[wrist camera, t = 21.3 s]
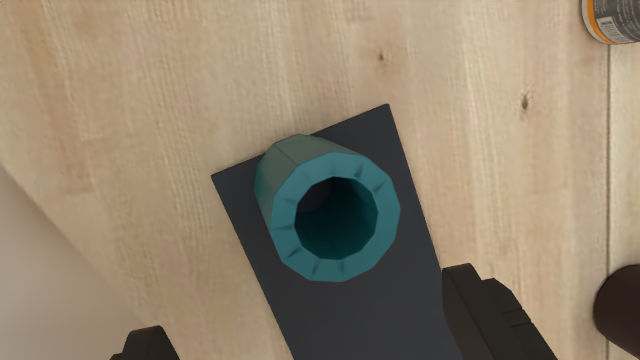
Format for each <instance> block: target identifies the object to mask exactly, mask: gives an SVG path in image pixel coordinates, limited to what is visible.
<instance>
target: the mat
mask: <svg viewBox="0 0 640 360" xmlns="http://www.w3.org/2000/svg"><path fill="white" fill-rule="evenodd" d="M308 136H314V137H321V138H324V139H326V140H329V141H331V142H333V143H336V144H338V145H340V146H343V147H345V148H348V149H350V150H352V151H355V152H357V153H359V154H362V155H364V156H366V157H368V158H369V159H370V160H371V161H372V162H373V163H375V164H376V165H377V166H378V167H379V168H381V169H382V170H383V171H384V172H385V173H387V174H388V175H389V176H390V178H391V180H392V183H393V186H394V189H395V192H396V195H397V198H398V201H399V204H400V209H401V211H400V216H399V221H398V226H397V231H396V236H395V240H394V241H393V243H392V245H391V246H390V247H389V248H388V250H387V251H386V252H385V253H384V255H383V256H382V257H381V258H380V260H379V261H378V262H377V263H376V265H375V266H374V267H373V268H372V269H369V270H367V271H365V272H363V273H361V274H359V275H357V276H354V277H352V278H350V279H348V280H346V281H342V282H332V281H313V280H308V279H307V278H305V277H304V276H302V275H301V274H299V273H298V272H296V271H295V270H293V269H292V268H290V267H289V266H287V265H286V264H284V263H283V262H282V261H281V258H280V256H279V254H278V251H277V249H276V247H275V244H274V242H273V240H272V237H271V235H270V233H269V230H268V228H267V225H266V222H265V220H264V217H263V215H262V212H261V209H260V207H259V204H258V202H257V199H256V196H255V194H254V181H255V174H256V167H257V164H258V163H259V161H260V160H261V159H262V158H263V156H264V155H265V154H266V153H264V154H262V155H259V156H257V157H255V158H252V159H250V160H247V161H245V162H242V163H240V164H237V165H235V166H233V167H230V168H228V169H225V170H223V171H220V172H218V173H215V174H213V175H211V178H212V180H213V183H214V185H215V187H216V189H217V191H218V194H219V196H220V198H221V200H222V202H223V205H224V207H225V209H226V211H227V213H228V215H229V218H230V220H231V222H232V224H233V226H234V229H235V231H236V233H237V235H238V237H239V240H240V242H241V244H242V246H243V248H244V250H245V253H246V255H247V257H248V259H249V261H250V264H251V266H252V268H253V270H254V272H255V275H256V277H257V279H258V281H259V283H260V285H261V288H262V290H263V292H264V294H265V296H266V299H267V301H268V303H269V305H270V307H271V310H272V312H273V314H274V316H275V318H276V320H277V323H278V325H279V327H280V329H281V331H282V334H283V336H284V338H285V340H286V342H287V345H288V347H289V349H290V351H291V353H292V355H293V358H294V360H463V358H462V355H461V353H460V351H459V349H458V347H457V345H456V342H455V340H454V338H453V336H452V334H451V331H450V329H449V327H448V324H447V322H446V318H445V315H444V310H443V295H442V272H441V269H440V266H439V263H438V259H437V256H436V253H435V250H434V247H433V244H432V240H431V237H430V234H429V231H428V228H427V224H426V221H425V218H424V215H423V212H422V208H421V205H420V202H419V199H418V196H417V192H416V189H415V186H414V183H413V180H412V177H411V173H410V170H409V167H408V164H407V161H406V157H405V154H404V151H403V148H402V145H401V141H400V138H399V135H398V132H397V129H396V125H395V122H394V119H393V116H392V113H391V109H390V106H389V104H384V105H382V106H379V107H377V108H374V109H372V110H369V111H367V112H365V113H362V114H360V115H357V116H355V117H352V118H350V119H347V120H345V121H343V122H340V123H338V124H335V125H333V126H330V127H328V128H325V129H323V130H321V131H318V132H316V133H313V134H311V135H308ZM332 180H333V178H332V177H331V178H328V179H326V180H324V181H321V182H319V183H317V184H314V185H312V186H311V187H310V189H309V190H308V191H307V192H306V194H305V195H304V196H303V197H302V199H301V200H300V201H299V203H298V204H297V211H296V212H301V213H307V212H309V211H312V210H314V209H316V208H319V207H321V205H322V204H323V203H324V202H325V200H326V199H327V198H328V197H329V195H330V192H331V186H332Z"/></svg>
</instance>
